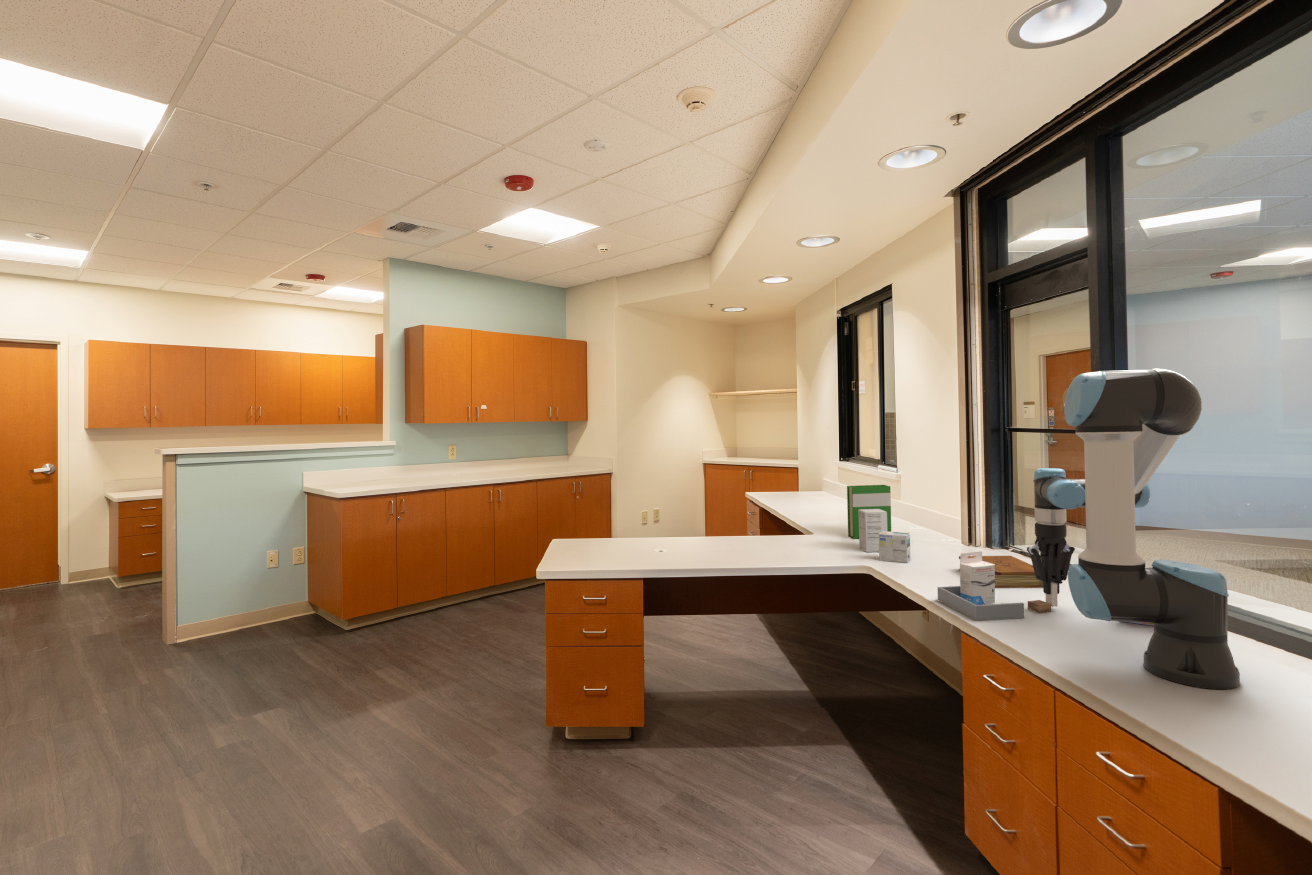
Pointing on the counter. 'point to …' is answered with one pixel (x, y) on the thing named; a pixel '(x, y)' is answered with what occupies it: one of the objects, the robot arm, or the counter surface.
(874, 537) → the supplement box
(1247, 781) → the counter surface
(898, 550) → the light bulb box
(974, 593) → the ink box
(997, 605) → the tray
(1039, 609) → the walnut block
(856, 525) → the hardback book
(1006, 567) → the diary
